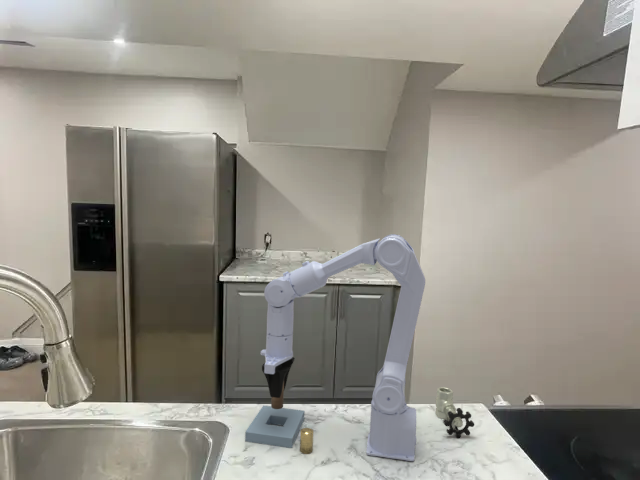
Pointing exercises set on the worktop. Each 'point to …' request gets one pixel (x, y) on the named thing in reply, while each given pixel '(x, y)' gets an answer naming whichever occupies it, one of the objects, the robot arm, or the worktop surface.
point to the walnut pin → (277, 401)
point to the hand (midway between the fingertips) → (277, 393)
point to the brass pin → (306, 441)
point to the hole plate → (275, 434)
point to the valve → (451, 413)
